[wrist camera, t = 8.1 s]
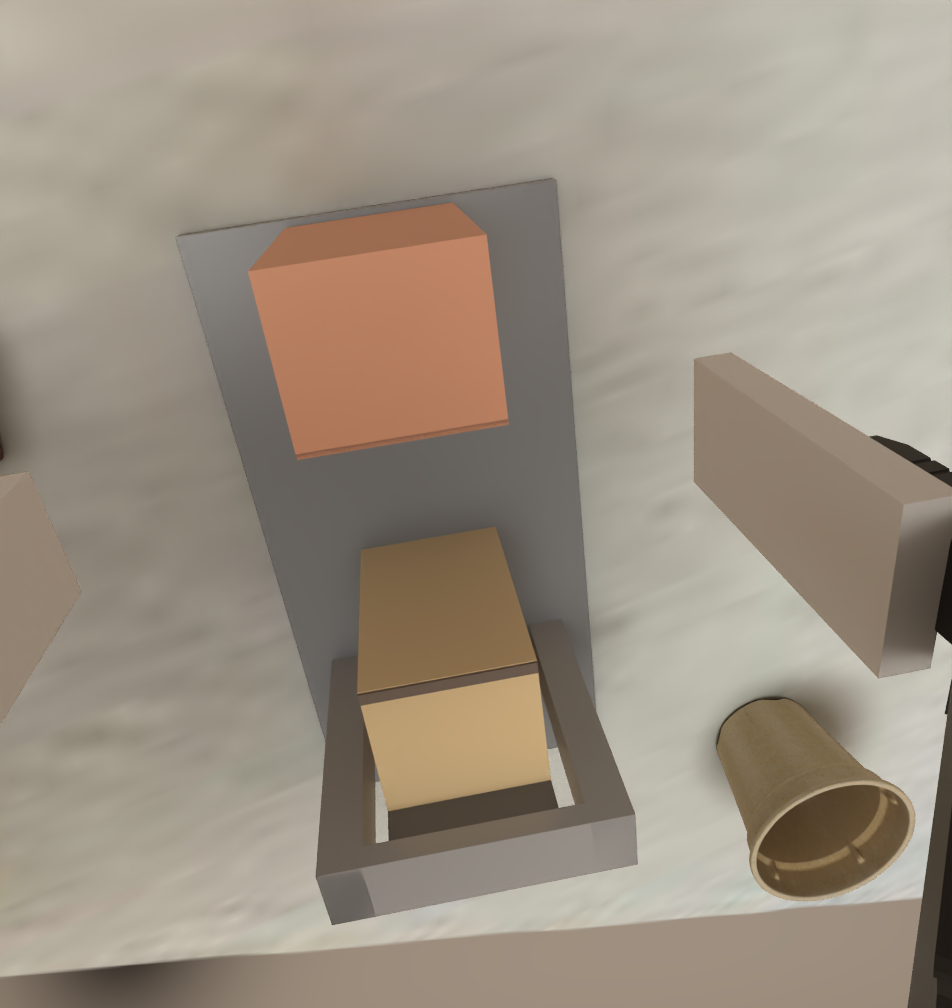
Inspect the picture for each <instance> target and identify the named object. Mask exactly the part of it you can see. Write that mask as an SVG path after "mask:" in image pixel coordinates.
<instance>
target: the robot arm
mask: <svg viewBox="0 0 952 1008" xmlns="http://www.w3.org/2000/svg"><path fill="white" fill-rule="evenodd" d="M694 482H695V483H696V484H697V485H698V486H699V488H700V489H701V490H702V491H703V492H704V493H705V494H706V495H707V496H708V497H709V498H710V499H711V500H712V501H713V502H714V504H715V505H716V506H717V507H718V508H719V509H720V510H721V511H722V512H723V513H724V514H725V515H726V516H727V517H728V518H729V520H730V521H731V522H732V523H733V524H734V525H735V526H736V527H737V528H738V529H739V530H740V531H741V532H742V533H743V534H744V536H745V537H746V538H747V539H748V540H749V541H750V542H751V543H752V544H753V545H754V546H755V547H756V548H757V549H758V550H759V552H760V553H761V554H762V555H763V556H764V557H765V558H766V559H767V560H768V561H769V562H770V563H771V564H772V565H773V566H774V568H775V569H776V570H777V571H778V572H779V573H780V574H781V575H782V576H783V577H784V578H785V579H786V580H787V581H788V583H789V584H790V585H791V586H792V587H793V588H794V589H795V590H796V591H797V592H798V593H799V594H800V595H801V596H802V597H803V599H804V600H805V601H806V602H807V603H808V604H809V605H810V606H811V607H812V608H813V609H814V610H815V611H816V612H817V613H818V615H819V616H820V617H821V618H822V619H823V620H824V621H825V622H826V623H827V624H828V625H829V626H830V627H831V628H832V629H833V631H834V632H835V633H836V634H837V635H838V636H839V637H840V638H841V639H842V640H843V641H844V642H845V643H846V644H847V645H848V647H849V648H850V649H851V650H852V651H853V652H854V653H855V654H856V655H857V656H858V657H859V658H860V659H861V660H862V661H863V663H864V664H865V665H866V666H867V667H868V668H869V669H870V670H871V671H872V672H873V673H874V674H875V675H876V676H877V677H878V678H883V677H888V676H893V675H898V674H903V673H909V672H914V671H919V670H924V669H929V668H930V667H931V662H932V657H933V651H934V646H935V640H936V635H937V632H938V633H939V634H940V635H941V636H943V637H944V638H945V639H946V640H947V641H948V642H949V643H951V644H952V472H950V471H949V468H947V467H945V466H944V465H942V464H940V463H938V462H937V461H931V459H930V457H928V456H926V455H925V454H923V453H921V452H919V451H918V450H916V449H914V448H913V447H911V446H909V445H907V444H904V443H900V442H897V441H894V440H890V439H887V438H883V437H880V436H877V435H876V436H870V437H869V436H867V435H865V434H864V433H862V432H860V431H859V430H857V429H855V428H854V427H852V426H851V425H849V424H847V423H846V422H844V421H842V420H841V419H839V418H837V417H836V416H834V415H832V414H831V413H829V412H828V411H826V410H824V409H823V408H821V407H819V406H818V405H816V404H814V403H813V402H811V401H810V400H808V399H806V398H805V397H803V396H801V395H800V394H798V393H796V392H795V391H793V390H791V389H790V388H788V387H787V386H785V385H783V384H782V383H780V382H778V381H777V380H775V379H773V378H772V377H770V376H769V375H767V374H765V373H764V372H762V371H760V370H759V369H757V368H755V367H754V366H752V365H751V364H749V363H747V362H746V361H744V360H742V359H741V358H739V357H737V356H736V355H734V354H732V353H726V354H720V355H714V356H708V357H702V358H696V359H694ZM80 593H81V589H80V587H79V585H78V583H77V580H76V578H75V576H74V574H73V571H72V569H71V567H70V564H69V562H68V560H67V558H66V555H65V553H64V551H63V549H62V546H61V544H60V542H59V540H58V537H57V535H56V533H55V531H54V528H53V526H52V524H51V522H50V519H49V517H48V515H47V512H46V510H45V508H44V506H43V503H42V501H41V499H40V497H39V494H38V492H37V490H36V488H35V485H34V483H33V481H32V479H31V476H30V474H29V472H23V473H17V474H11V475H5V476H0V725H1V723H2V722H3V720H4V718H5V717H6V715H7V714H8V712H9V710H10V709H11V707H12V705H13V704H14V702H15V700H16V699H17V697H18V695H19V694H20V692H21V690H22V689H23V687H24V685H25V684H26V682H27V681H28V679H29V677H30V676H31V674H32V672H33V671H34V669H35V667H36V666H37V664H38V662H39V661H40V659H41V657H42V656H43V654H44V652H45V651H46V649H47V648H48V646H49V644H50V643H51V641H52V639H53V638H54V636H55V634H56V633H57V631H58V629H59V628H60V626H61V624H62V623H63V621H64V619H65V618H66V616H67V614H68V613H69V611H70V610H71V608H72V606H73V605H74V603H75V601H76V600H77V598H78V596H79V595H80ZM945 714H947V722H946V729H945V736H944V744H943V751H942V758H941V766H940V773H939V780H938V788H937V795H936V802H935V810H934V817H933V824H932V832H931V839H930V846H929V854H928V861H927V868H926V876H925V883H924V890H923V898H922V905H921V912H920V920H919V927H918V934H917V942H916V949H915V956H914V964H913V971H912V979H911V986H910V993H909V1000H908V1008H952V680H951V685H950V690H949V695H948V700H947V705H946V710H945Z"/></svg>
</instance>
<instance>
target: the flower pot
mask: <svg viewBox="0 0 952 1008" xmlns="http://www.w3.org/2000/svg"><path fill="white" fill-rule="evenodd" d="M717 752H718V755H719V758H720V760H721V762H722V765H723V768H724V771H725V773H726V776H727V778H728V781H729V784H730V787H731V789H732V792H733V795H734V797H735V800H736V803H737V806H738V808H739V811H740V814H741V816H742V819H743V822H744V825H745V827H746V830H747V842H748V846H749V849H750V858H749V861H750V868H751V871H752V874H753V876H754V878H755V880H756V882H757V883H758V884H759V885H760V886H761V888H762V889H764V890H765V891H767V892H769V893H770V894H772V895H774V896H776V897H779V898H783V899H786V900H792V901H816V900H822V899H828V898H832V897H836V896H839V895H842V894H845V893H848V892H850V891H852V890H855V889H857V888H859V887H861V886H863V885H865V884H867V883H868V882H870V881H872V880H874V879H875V878H876V877H877V876H878V875H880V874H881V873H882V872H883V871H885V870H886V869H887V868H888V867H890V865H891V864H892V863H894V862H895V860H896V859H897V858H898V857H899V856H900V854H902V852H903V851H904V849H905V848H906V846H907V845H908V843H909V841H910V839H911V837H912V834H913V831H914V827H915V810H914V808H913V805H912V802H911V801H910V799H909V798H908V797H907V796H906V794H905V793H904V792H903V791H902V790H901V789H900V788H898V787H897V786H895V785H893V784H891V783H889V782H887V781H884V780H882V779H881V778H880V777H879V776H878V775H876V774H875V773H873V772H872V771H870V770H868V769H865V768H864V767H863V766H862V765H861V764H860V763H859V762H858V761H857V760H856V759H855V758H854V757H852V756H851V755H850V754H849V753H848V752H847V751H846V750H845V749H844V748H843V747H842V746H841V745H840V744H839V743H838V742H837V741H836V740H835V739H834V738H833V737H832V736H830V735H829V734H828V733H827V732H826V731H825V730H824V729H823V728H822V727H821V726H820V725H819V724H818V723H817V722H816V721H815V720H814V719H813V718H812V717H811V716H810V715H809V714H808V713H807V712H806V711H805V709H804V708H803V707H802V706H800V705H799V704H797V703H795V702H793V701H791V700H788V699H780V700H758V701H755V702H752V703H750V704H748V705H746V706H744V707H742V708H741V709H739V710H738V711H736V712H735V713H734V714H733V715H732V716H731V717H730V718H729V719H728V720H727V721H726V722H725V723H724V725H723V726H722V728H721V733H720V738H719V742H718V745H717Z"/></svg>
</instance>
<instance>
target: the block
mask: <svg viewBox="0 0 952 1008" xmlns="http://www.w3.org/2000/svg"><path fill="white" fill-rule="evenodd" d="M248 274H249V278H250V282H251V286H252V289H253V293H254V297H255V301H256V305H257V309H258V312H259V316H260V320H261V324H262V328H263V332H264V336H265V339H266V343H267V347H268V351H269V355H270V359H271V362H272V366H273V370H274V374H275V378H276V382H277V385H278V389H279V393H280V397H281V401H282V405H283V408H284V412H285V416H286V420H287V424H288V428H289V431H290V435H291V439H292V443H293V447H294V451H295V454H296V458H297V460H301V459H307V458H313V457H319V456H325V455H331V454H337V453H343V452H349V451H355V450H361V449H367V448H373V447H379V446H385V445H391V444H397V443H403V442H409V441H415V440H420V439H426V438H432V437H438V436H444V435H450V434H456V433H462V432H468V431H474V430H480V429H486V428H492V427H498V426H504V425H509V421H508V413H507V404H506V396H505V387H504V378H503V370H502V361H501V353H500V344H499V336H498V327H497V319H496V310H495V302H494V293H493V285H492V276H491V268H490V259H489V251H488V242H487V234H486V233H484V232H483V231H482V230H481V229H480V228H479V227H478V226H477V225H476V224H475V223H474V222H473V221H472V220H471V219H470V218H469V217H468V216H466V215H465V214H464V213H463V212H462V211H461V210H460V209H459V208H458V207H457V206H456V205H455V204H454V203H453V202H452V203H446V204H439V205H433V206H426V207H420V208H413V209H406V210H400V211H393V212H387V213H380V214H374V215H367V216H360V217H354V218H347V219H341V220H334V221H328V222H321V223H314V224H308V225H301V226H295V227H288V228H284V230H283V231H282V232H281V233H280V234H279V236H278V237H277V238H276V239H275V240H274V241H273V243H272V244H271V245H270V246H269V247H268V248H267V250H266V251H265V252H264V253H263V254H262V255H261V257H260V258H259V259H258V260H257V261H256V262H255V264H254V265H253V266H252V267H251V268H250V269H249V271H248Z"/></svg>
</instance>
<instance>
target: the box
mask: <svg viewBox="0 0 952 1008" xmlns="http://www.w3.org/2000/svg"><path fill="white" fill-rule="evenodd" d="M2 459H3V453H2V450H1V446H0V461H1V460H2Z"/></svg>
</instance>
